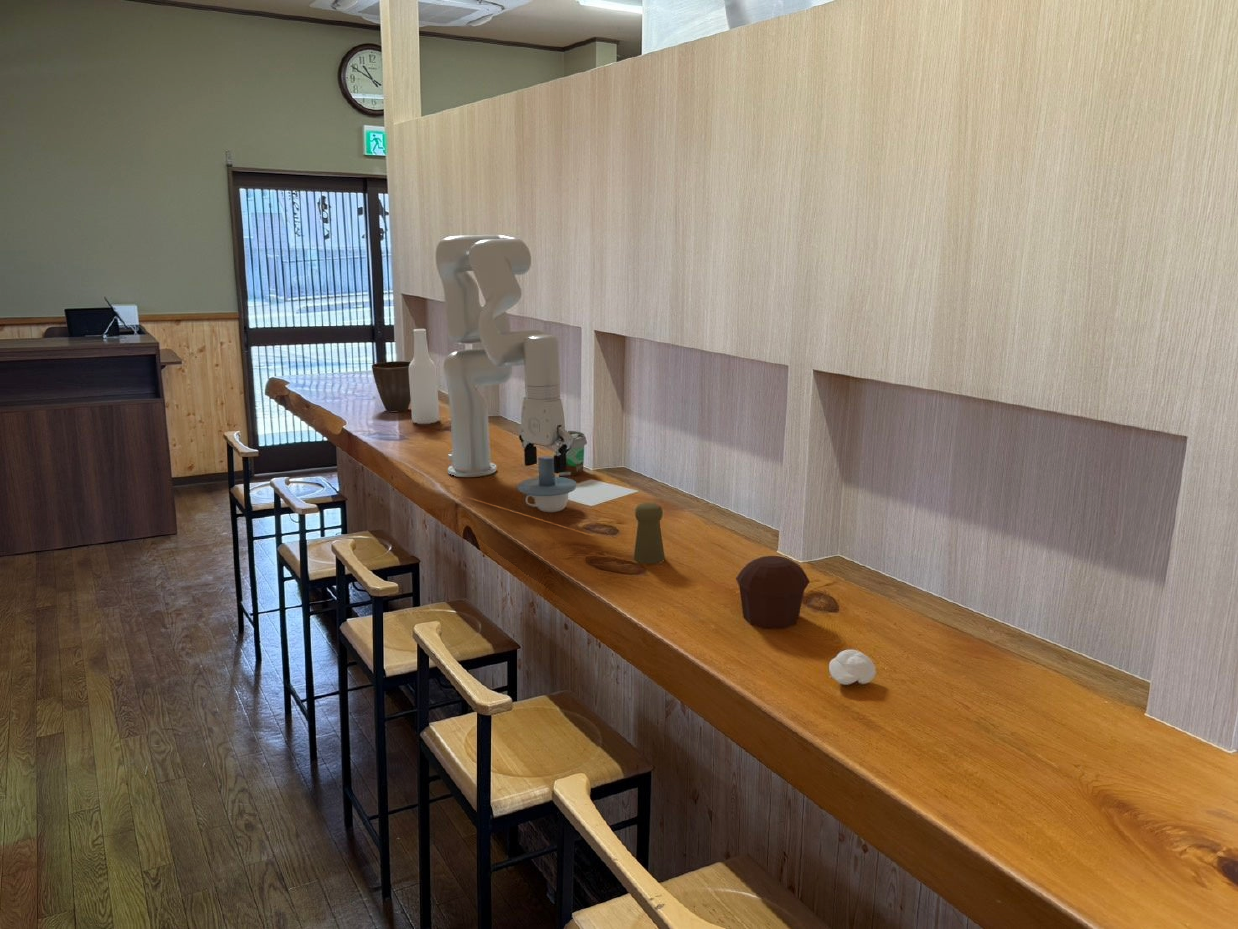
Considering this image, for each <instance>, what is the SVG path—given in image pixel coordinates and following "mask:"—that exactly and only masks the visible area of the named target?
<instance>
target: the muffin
mask: <svg viewBox="0 0 1238 929" xmlns="http://www.w3.org/2000/svg"><path fill="white" fill-rule="evenodd" d="M735 580H736V582H737V584H738V587H739V593H740V601H741V602H740V603H741V610H742V617H744V618H745V619H744V618H743V619H744V620H746V621H747V622H748V623H749V625H750V624H751V625H750V626H754V625H756V626H755V627H758V626H759V628H761V627H762V629H765V630H769V629H770V630H771V629H773V630H774V629H775V630H776V629H778V630H779V629H780V630H783V629H787V628H788V627H792V626H795V625H797V621H798V620H799V618H800V613H801V609H802V608H801V607H802V603H803V599H804V592H805V590H806V588H807V586H808V585H809V583H810V580H809V578H808V576H807V574H806V572H805V570H804V569H803V568H802V567H801V566H800V564H798V563H797V562H795V561H794V560H792V559H790V558H787V557H785V556H781V555H780V556H779V555H766V556H761V557H757V558H755V559H753V560H751V561H750V562H748V563H747V564H746V565H745V566H744V567H743V568H742V569H741V570H740V572H739V573H738V575H737V576H736V577H735ZM797 619H798V620H797Z"/></svg>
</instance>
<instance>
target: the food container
mask: <svg viewBox="0 0 1238 929" xmlns="http://www.w3.org/2000/svg"><path fill="white" fill-rule="evenodd" d="M567 432H568V433H569V434H571V435H572V436H573V441H572V444H571V448H570V449H569V451H568V453H567V454H566V465H567V470H566V471H564V472H561V473H558V477H564V478H568V477H576V476H579V475H581V474H583V473H584V463H585V462H584V459H585V458H584V457H585V445H587V444H588V441H587V437H586V436H585V433H584V432H580V431H576V430H567ZM557 446H558V448H560V446H559V445H557Z"/></svg>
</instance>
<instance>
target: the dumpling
mask: <svg viewBox="0 0 1238 929" xmlns="http://www.w3.org/2000/svg"><path fill="white" fill-rule="evenodd" d="M828 665H829V666H828V668H829V669H828V670H829V674H830V675H829V676H828V677H829V678H833V680H834V681H835V682H837V683H839V684H841V685H843V686H849V685H851V684H853V683H855V682H858V684H861V685H865V684H868V683H871V681H872V680H874V678H875V677H876V674H877V669H876V666H875V663H874V662H873V661H872V659H871V658H869V656H867V655H866V654H865V653H863V652H861V651H860V650H857V649H845V650H842V651H840V652H839V653H838V654H837V655H836V657H834V658H832V659H831V660H830V661H829V664H828Z"/></svg>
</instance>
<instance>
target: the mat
mask: <svg viewBox="0 0 1238 929" xmlns="http://www.w3.org/2000/svg"><path fill="white" fill-rule="evenodd" d="M638 492H640V491H639V490H636V489H632V488H630V487H629V488H628V487H624V486H622V485H621V486H620V485H616V484H611V483H608V482H604V481H600V480H597V479H591V478H590V479H587V480H584V481H581V482H576V489H575V490H574V491H572V492H569V493H568V501H570V502H574V503H577V504H582V505H585V506H589V507H593V506H597V505H599V504H600V505H601V504H604V503H607V502H609V501H612V500H616V499H619V498H622V497H623V498H624V497H626V496H629V495H632V494H635V493H638Z"/></svg>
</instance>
